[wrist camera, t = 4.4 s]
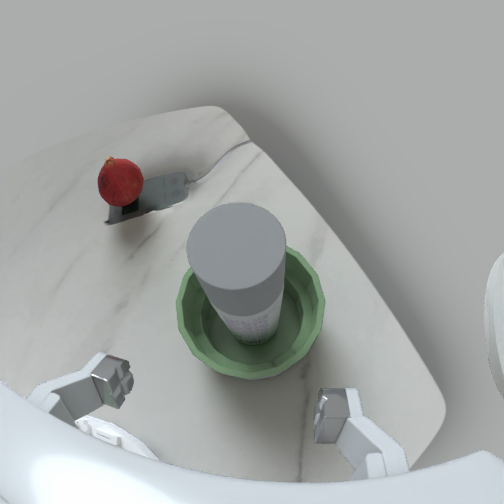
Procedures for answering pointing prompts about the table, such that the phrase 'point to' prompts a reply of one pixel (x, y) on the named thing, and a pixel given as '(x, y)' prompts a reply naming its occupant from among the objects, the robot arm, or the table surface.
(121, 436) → the giant coin
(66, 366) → the table surface
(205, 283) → the container
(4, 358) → the table surface
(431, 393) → the table surface
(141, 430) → the table surface
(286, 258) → the green faceted pot
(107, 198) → the onion
